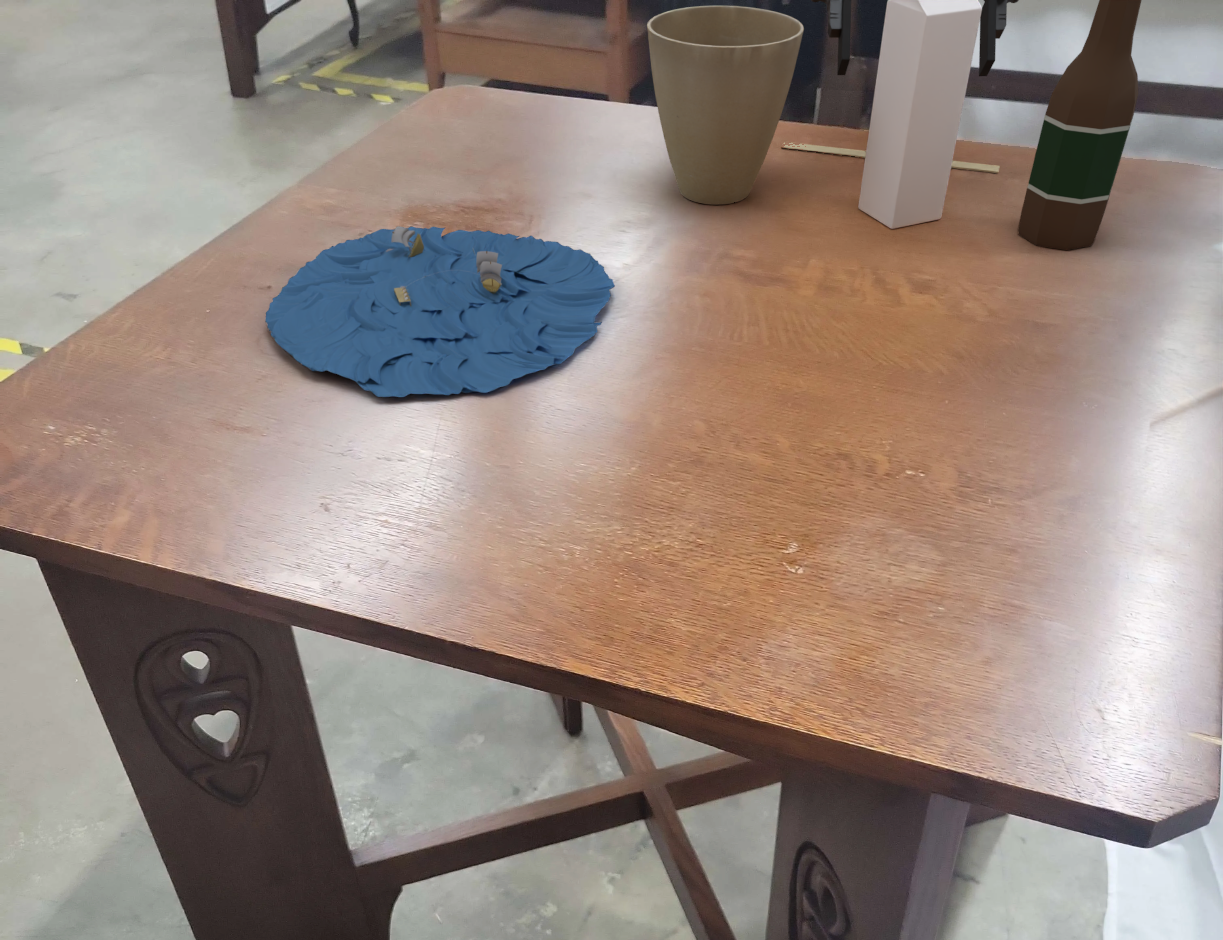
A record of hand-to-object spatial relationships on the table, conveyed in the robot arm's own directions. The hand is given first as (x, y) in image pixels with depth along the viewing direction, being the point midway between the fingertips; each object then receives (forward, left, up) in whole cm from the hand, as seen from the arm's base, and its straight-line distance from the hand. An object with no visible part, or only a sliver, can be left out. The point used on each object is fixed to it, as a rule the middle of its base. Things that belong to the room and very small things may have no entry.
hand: (914, 68), depth 103 cm
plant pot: (+18, +2, -13) cm, 22 cm away
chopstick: (+1, -12, -12) cm, 17 cm away
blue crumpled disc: (+36, +34, -13) cm, 51 cm away
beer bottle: (-16, +6, -13) cm, 21 cm away
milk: (-1, +4, -13) cm, 13 cm away
